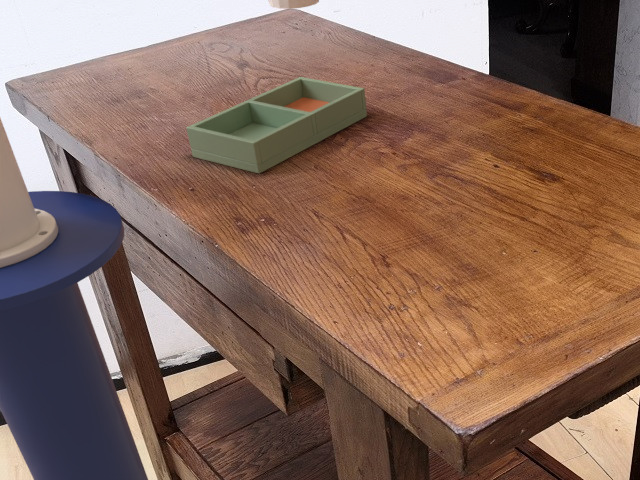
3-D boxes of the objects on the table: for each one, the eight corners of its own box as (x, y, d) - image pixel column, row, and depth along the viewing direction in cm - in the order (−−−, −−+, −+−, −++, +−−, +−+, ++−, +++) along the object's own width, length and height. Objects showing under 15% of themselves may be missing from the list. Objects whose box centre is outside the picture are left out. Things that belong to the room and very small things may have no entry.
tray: (259, 174, 92) (253, 143, 90) (192, 157, 97) (185, 127, 95) (367, 116, 105) (364, 88, 103) (304, 103, 110) (300, 76, 107)
